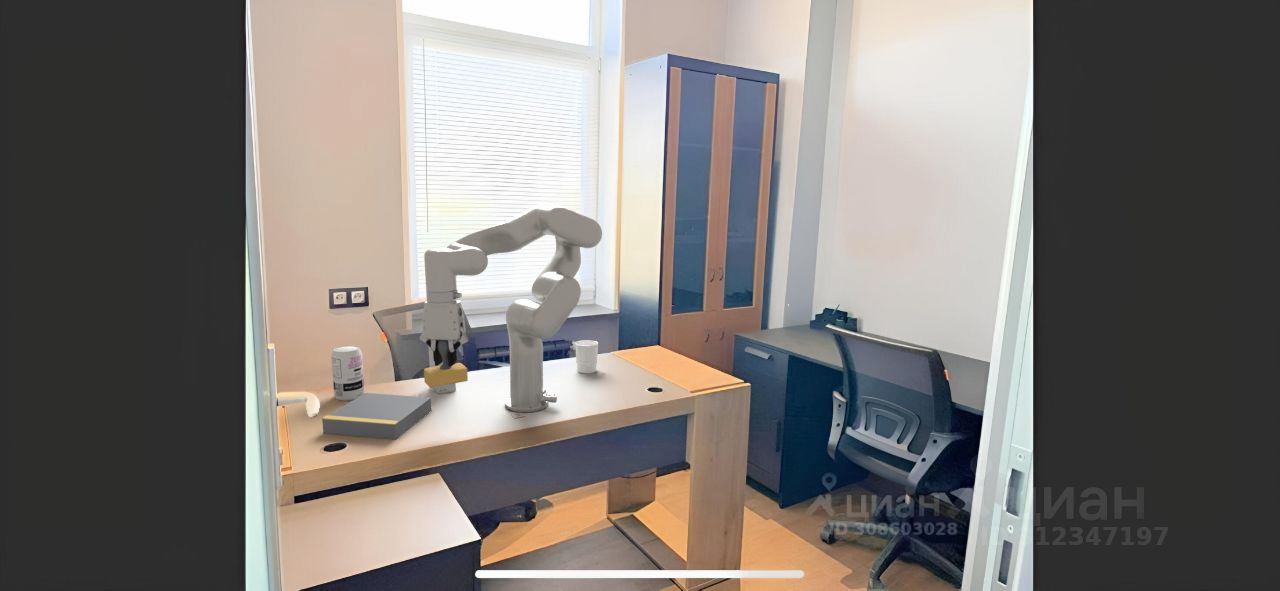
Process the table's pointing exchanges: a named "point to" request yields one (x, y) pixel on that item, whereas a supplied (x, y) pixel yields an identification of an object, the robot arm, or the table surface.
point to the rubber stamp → (445, 370)
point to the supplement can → (347, 372)
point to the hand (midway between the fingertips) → (445, 364)
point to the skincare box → (444, 387)
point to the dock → (377, 416)
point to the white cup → (586, 356)
